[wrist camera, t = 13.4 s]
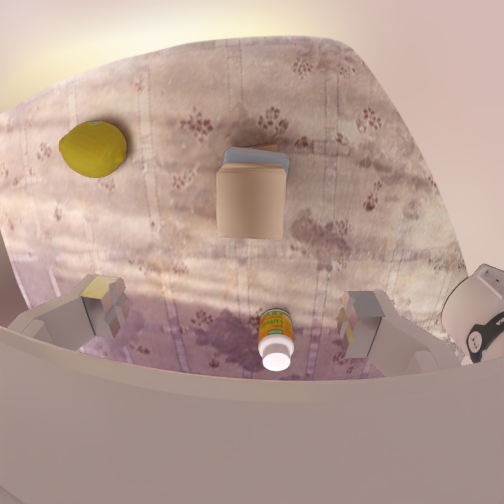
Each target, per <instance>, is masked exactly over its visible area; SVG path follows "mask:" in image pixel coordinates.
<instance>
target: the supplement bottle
mask: <svg viewBox="0 0 504 504" xmlns="http://www.w3.org/2000/svg"><path fill="white" fill-rule="evenodd" d="M258 347H259V353H260V355H261V356H262V357H263V365H264V366H265V367H266V368H267V369H269V370H272V371H280V370H284V369H286V368H287V367H288V366H289V365H290V356H291V355H292V353H293V351H294V341H293V330H292V321H291V317H290V315H289V314H288V313H287V312H285V311H283V310H280V309H272V310H269V311H267V312H265V313H264V314H263V315H262V316H261V318H260V325H259V346H258Z"/></svg>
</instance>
